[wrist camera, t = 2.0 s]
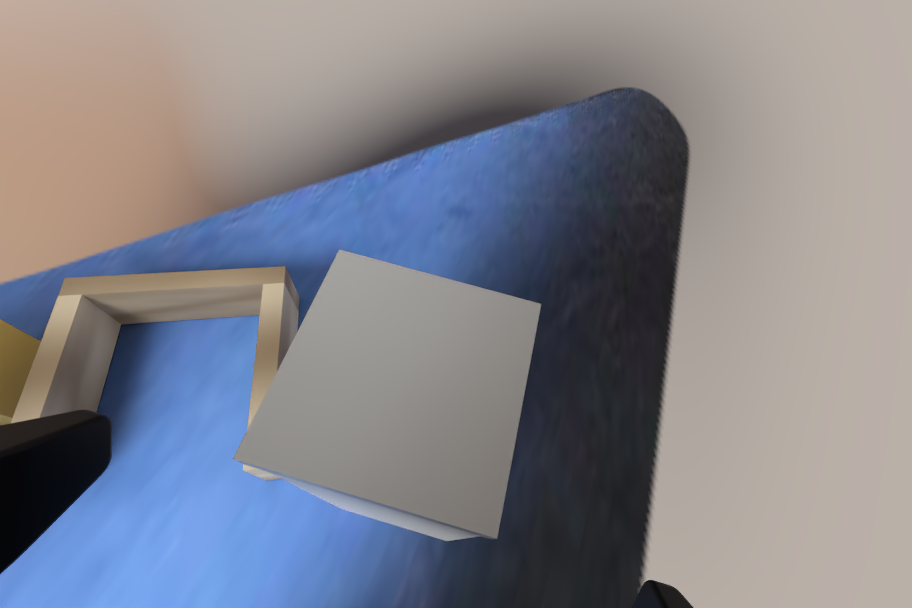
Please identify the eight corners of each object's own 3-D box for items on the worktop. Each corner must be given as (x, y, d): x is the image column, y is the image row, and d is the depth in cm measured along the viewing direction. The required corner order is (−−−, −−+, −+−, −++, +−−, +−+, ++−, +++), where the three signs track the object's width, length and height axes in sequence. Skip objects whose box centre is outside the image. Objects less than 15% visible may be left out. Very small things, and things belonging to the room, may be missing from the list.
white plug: (447, 543, 15) (497, 538, 6) (339, 509, 16) (232, 458, 6) (474, 431, 17) (541, 304, 8) (378, 403, 18) (339, 249, 8)
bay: (289, 477, 16) (269, 467, 14) (45, 506, 15) (-19, 500, 13) (299, 297, 20) (285, 266, 17) (105, 309, 19) (64, 277, 16)
